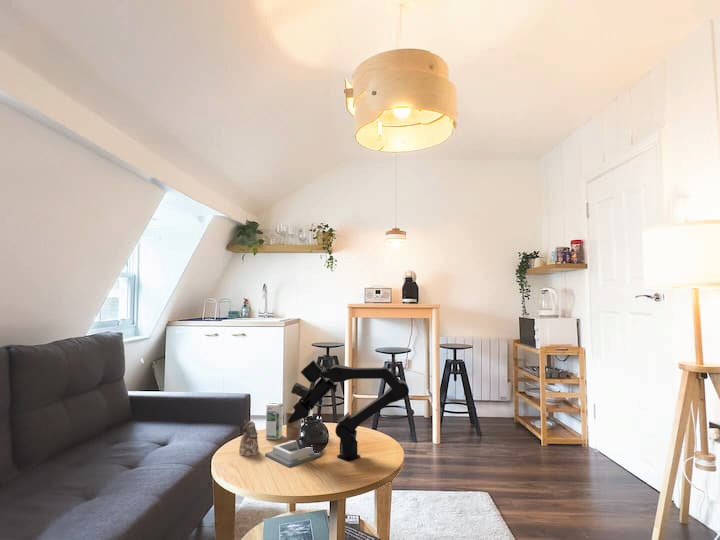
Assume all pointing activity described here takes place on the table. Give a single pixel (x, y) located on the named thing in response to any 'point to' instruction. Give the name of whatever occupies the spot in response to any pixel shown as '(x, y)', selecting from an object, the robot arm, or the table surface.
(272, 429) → the syrup box
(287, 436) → the walnut peg block
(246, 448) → the figurine
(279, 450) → the socket board
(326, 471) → the table surface
